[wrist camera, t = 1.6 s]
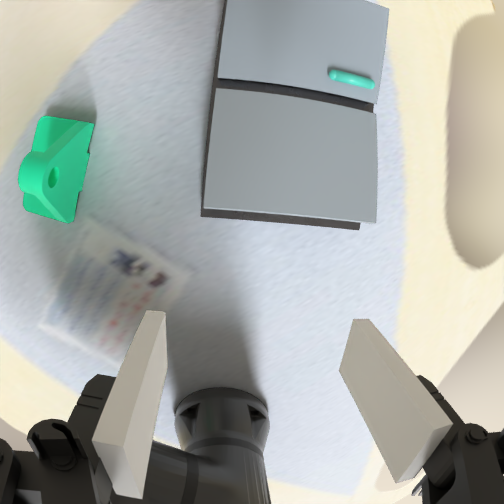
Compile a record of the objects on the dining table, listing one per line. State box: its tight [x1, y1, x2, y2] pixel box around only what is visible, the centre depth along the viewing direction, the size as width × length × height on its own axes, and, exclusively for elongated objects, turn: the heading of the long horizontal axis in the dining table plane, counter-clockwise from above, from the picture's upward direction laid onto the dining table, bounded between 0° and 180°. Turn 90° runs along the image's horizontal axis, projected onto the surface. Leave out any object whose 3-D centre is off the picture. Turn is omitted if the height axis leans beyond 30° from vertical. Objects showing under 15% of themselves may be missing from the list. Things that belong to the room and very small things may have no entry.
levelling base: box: [201, 0, 374, 230], centre depth 31 cm, size 28×18×3 cm, turn 174°
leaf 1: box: [218, 0, 389, 104], centre depth 25 cm, size 12×17×3 cm
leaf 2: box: [203, 88, 377, 224], centre depth 29 cm, size 12×17×2 cm
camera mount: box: [18, 116, 94, 224], centre depth 27 cm, size 12×8×10 cm, turn 163°
